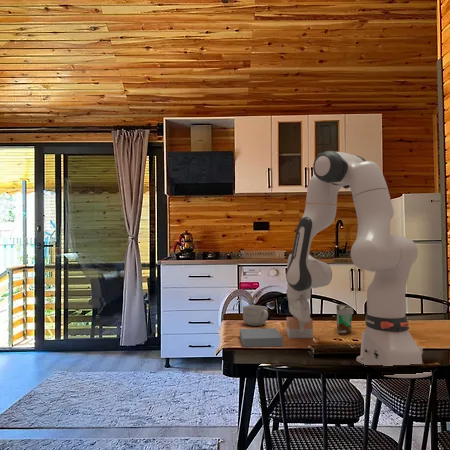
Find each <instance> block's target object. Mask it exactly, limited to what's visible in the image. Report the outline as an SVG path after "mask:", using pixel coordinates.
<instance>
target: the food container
mask: <svg viewBox="0 0 450 450" xmlns="http://www.w3.org/2000/svg"><path fill="white" fill-rule="evenodd" d="M353 314H354V308H353V307H352V306H351V305H347V304H336V330H337V333H338V335H339V336H341V335H343V336H344V335H349V334H352V321H353V320H352V318H353V317H352V316H353Z"/></svg>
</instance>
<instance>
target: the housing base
mask: <svg viewBox="0 0 450 450" xmlns="http://www.w3.org/2000/svg"><path fill="white" fill-rule="evenodd" d="M313 330H314V329H304V332H300V331H299V329H289V328H288V327H287V326H286V336H287V337H288V338H289V339H313V338H314V331H313Z"/></svg>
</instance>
